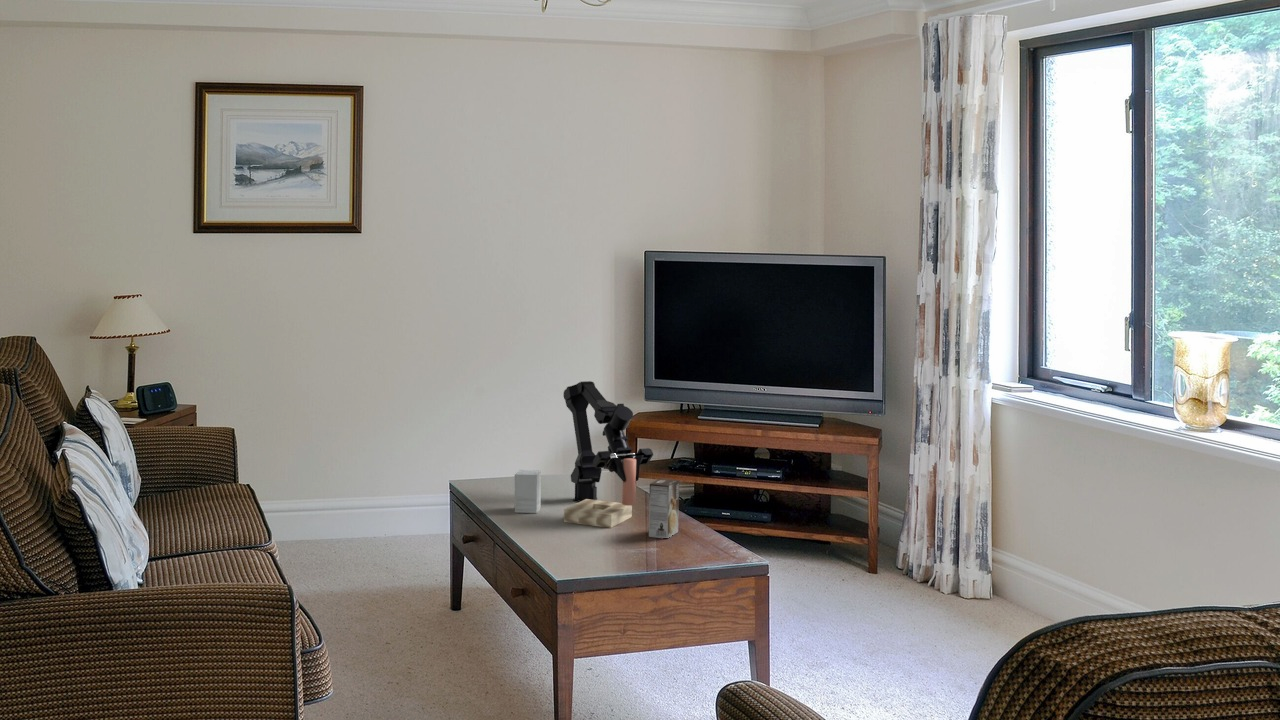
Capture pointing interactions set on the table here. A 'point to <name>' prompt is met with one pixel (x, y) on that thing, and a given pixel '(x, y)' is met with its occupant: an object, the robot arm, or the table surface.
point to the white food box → (663, 508)
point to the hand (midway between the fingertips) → (631, 480)
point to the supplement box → (527, 491)
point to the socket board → (597, 513)
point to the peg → (629, 481)
